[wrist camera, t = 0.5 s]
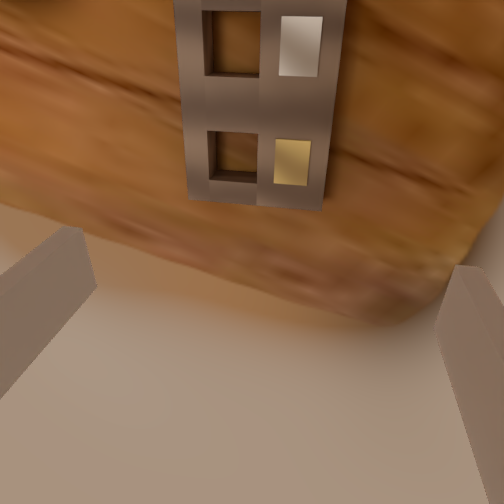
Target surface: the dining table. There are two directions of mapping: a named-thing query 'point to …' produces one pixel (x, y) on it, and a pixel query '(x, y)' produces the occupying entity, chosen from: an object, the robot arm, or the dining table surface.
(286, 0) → the socket board
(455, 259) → the dining table surface
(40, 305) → the robot arm
